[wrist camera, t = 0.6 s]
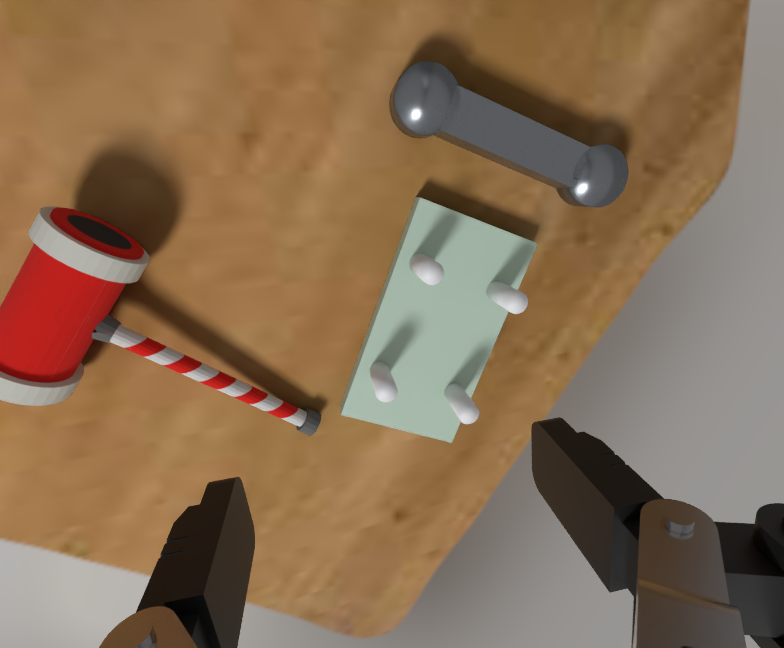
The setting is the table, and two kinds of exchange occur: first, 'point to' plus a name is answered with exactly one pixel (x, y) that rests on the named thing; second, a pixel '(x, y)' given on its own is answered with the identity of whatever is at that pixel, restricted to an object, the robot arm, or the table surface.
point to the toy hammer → (90, 317)
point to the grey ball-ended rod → (505, 136)
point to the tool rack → (437, 322)
